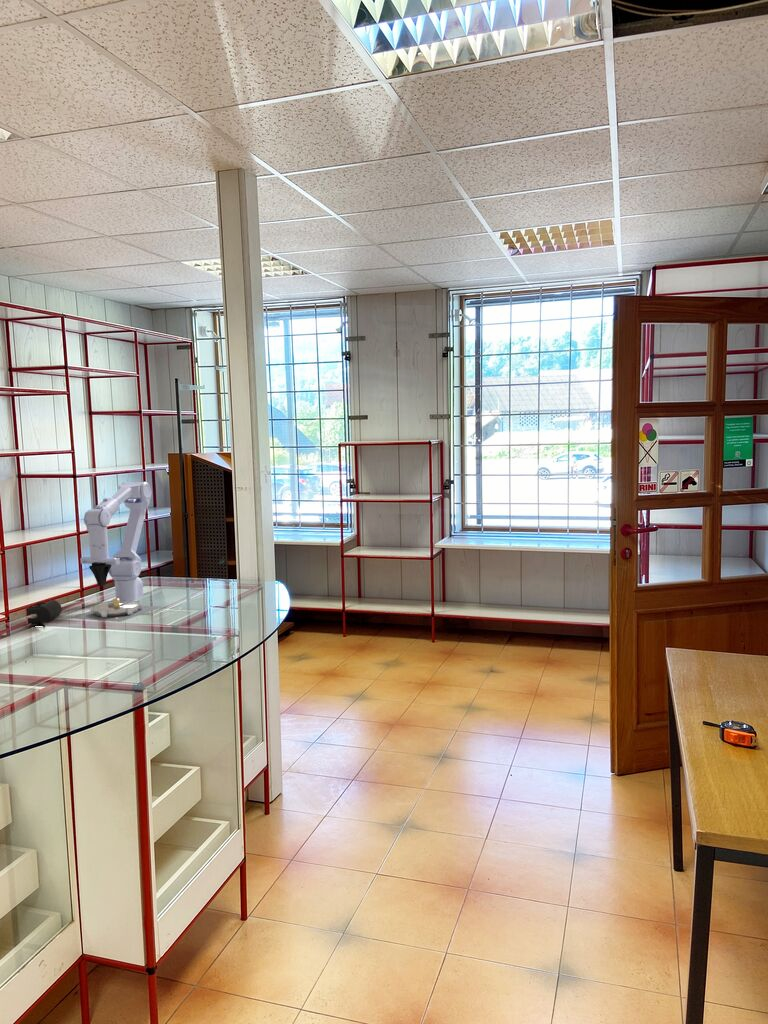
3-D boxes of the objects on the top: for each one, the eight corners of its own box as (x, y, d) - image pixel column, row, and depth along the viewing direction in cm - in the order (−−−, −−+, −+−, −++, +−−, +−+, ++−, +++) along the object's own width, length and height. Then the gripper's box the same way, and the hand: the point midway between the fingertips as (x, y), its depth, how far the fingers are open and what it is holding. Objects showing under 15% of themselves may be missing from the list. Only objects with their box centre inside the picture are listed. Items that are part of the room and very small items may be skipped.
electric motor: (51, 627, 226) (49, 606, 225) (27, 628, 225) (25, 607, 224) (62, 619, 236) (61, 599, 235) (40, 620, 235) (38, 600, 234)
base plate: (113, 608, 249) (113, 603, 249) (161, 611, 243) (161, 606, 242) (70, 622, 231) (69, 617, 231) (121, 626, 224) (120, 621, 224)
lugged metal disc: (90, 609, 240) (89, 594, 240) (140, 604, 246) (139, 589, 245) (90, 619, 227) (89, 602, 226) (143, 613, 233) (142, 597, 232)
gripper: (72, 546, 239) (75, 587, 240) (108, 547, 234) (111, 588, 235) (88, 543, 245) (90, 582, 247) (123, 544, 240) (125, 584, 242)
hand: (101, 585), depth 241 cm, fingers closed
